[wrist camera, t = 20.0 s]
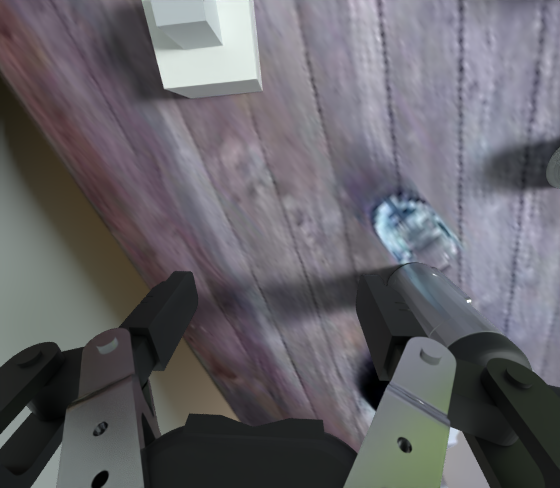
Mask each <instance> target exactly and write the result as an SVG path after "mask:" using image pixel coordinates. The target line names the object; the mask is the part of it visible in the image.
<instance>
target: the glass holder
mask: <svg viewBox="0 0 560 488" xmlns="http://www.w3.org/2000/svg"><path fill="white" fill-rule="evenodd" d="M546 178H547V181H548V183H549V184H550V185H551V186H553V187H555V188H559V189H560V147H559V148H558V149H557V150H556V151H555V153H554V154H553V155H552V157H551V159H550V161H549V163H548V165H547V170H546Z"/></svg>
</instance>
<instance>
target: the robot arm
mask: <svg viewBox="0 0 560 488" xmlns="http://www.w3.org/2000/svg"><path fill="white" fill-rule="evenodd" d="M471 303H472V299H471V298H470V297H469V296H468V295H467V294H466V293H464V292H463V291H462V290H461V289H460V288H459V287H458V286H456V285H455V284H454V283H453V282H452V281H451V280H450V279H448V278H447V277H446V276H445V275H444V274H443V273H442V272H440V271H439V270H438V269H437V268H431V267H429V266H427V265H425V264H422V263H411V264H407V265H404V266H402V267H400V268H399V269H397V270H396V271H395V272H394V273H393V274H392V275H391V277H390V279H389V281H388V286H385V285H384V283H383V281H382V279H381V278H380V276H379V275H361V276H360V280H359V286H358V292H357V298H356V312H357V316H358V319H359V322H360V325H361V327H362V330H363V333H364V336H365V339H366V342H367V345H368V348H369V351H370V354H371V357H372V360H373V363H374V366H375V369H376V372H377V374H378V377H379V380H386V381H390V384H388V386H387V388H386V390H385V393H384V395H383V397H382V400H381V402H380V404H379V406H378V409H377V411H376V413H375V416H374V418H373V420H372V423H371V425H370V427H369V430H368V432H367V434H366V436H365V439H364V441H363V443H362V446H361V448H360V450H359V453H358V454H357V453H356V452H355V451H354V450H353V449H352V448H351V447H350V446H349V445H347V444H346V443H345V442H343V441H342V440H340V439H339V438H337V437H335V436H333V435H331V434H329V433H326V432H324V426H323V420H314V419H293V418H289V419H285V420H281V421H277V422H273V423H269V424H265V425H261V426H256V427H252V426H249V425H246V424H244V423H241V422H238V421H236V420H233V419H230V418H228V417H225V416H222V415H209V414H189V416H188V418H187V421H186V424H185V426H182V427H179V428H176V429H174V430H171V431H169V432H168V433H166V434H164V435H162V436H161V433H160V430H159V426H158V422H157V416H156V411H155V406H154V401H153V396H152V390H151V385H150V381H149V376H150V374H151V372H152V371H164V370H165V368H166V366H167V364H168V362H169V360H170V358H171V357H172V355H173V353H174V351H175V349H176V347H177V345H178V343H179V341H180V340H181V338H182V336H183V334H184V332H185V330H186V328H187V326H188V324H189V323H190V321H191V319H192V317H193V315H194V313H195V311H196V309H197V306H198V295H197V290H196V285H195V281H194V276H193V273H192V272H191V271H174V272H173V273H172V274H171V276H170V277H169V278H168V279H167V280H166V281H163V282H161V283H160V284H158V285H157V286H155V287H154V288H152V290H151V291H150V292H149V293H148V294H147V295H146V297H145V298H144V299H143V300H142V301H141V303H140V304H139V305H138V306H137V307H136V308H135V309H134V310H133V311H132V313H131V314H130V315H129V316H128V317H127V318H126V319H125V321H124V322H123V323H122V324H121V325H120V326H119V328H114V329H110V330H107V331H104V332H102V333H101V334H99V335H97V336H95V337H94V338H93V339H91V340H90V341H89V342H88V343H87V344H86V346H85V347H81V348H76V349H72V350H68V351H63V352H61V350H60V348H59V347H58V345H57V344H56V343H54V342H44V343H39V344H36V345H33V346H31V347H28V348H26V349H24V350H22V351H21V352H19V353H18V354H16V355H15V356H13V357H12V358H11V359H9V360H8V361H7V362H6V363H5V364H4V365H2V366H1V367H0V434H1V433H2V432H3V430H5V429H6V427H7V426H8V425H9V424H10V423H11V421H13V420H14V418H15V417H16V416H17V415H18V414H19V413H20V412H21V411H22V410H23V409H24V407H25V406H27V407H28V408H29V409H30V410H31V411H32V413H31V414H30V415H29V416H28V417H27V419H26V420H25V421H24V422H23V423H22V424H21V425H20V427H19V428H18V429H17V430H16V431H15V432H14V434H13V435H12V436H11V437H10V438H9V439H8V441H7V442H6V443H5V444H4V445H3V446H2V448H1V449H0V488H30V487H31V486H32V485H33V483H34V482H35V480H36V479H37V477H38V476H39V475H40V473H41V471H42V470H43V469H44V467H45V466H46V464H47V463H48V461H49V460H50V458H51V457H52V455H53V454H54V453H55V451H56V450H57V448H58V447H59V445H60V444H61V442H62V447H61V454H60V462H59V470H58V478H57V486H56V488H440V485H441V479H442V473H443V467H444V461H445V455H446V449H447V444H448V438H449V432H450V427H452V428H455V429H458V430H460V431H462V432H463V434H464V436H465V438H466V440H467V442H468V444H469V446H470V448H471V450H472V452H473V454H474V456H475V458H476V460H477V462H478V464H479V466H480V468H481V470H482V472H483V474H484V476H485V478H486V480H487V482H488V484H489V486H490V488H560V387H555V386H551V385H547V384H546V383H545V382H544V381H543V380H542V379H541V378H540V377H539V376H538V375H537V374H536V373H534V372H533V371H532V368H531V366H530V363H529V361H528V359H527V357H526V356H525V354H524V353H523V352H522V351H521V350H520V349H519V348H518V347H517V346H516V345H515V344H514V343H513V342H512V341H510V340H509V339H508V338H507V337H506V336H505V335H504V334H503V333H502V332H500V331H499V330H498V329H497V328H496V327H495V326H494V325H493V324H492V323H491V322H489V321H488V320H487V319H486V318H485V317H484V316H483V315H482V314H481V313H479V312H478V311H477V310H476V309H475V308H474V307H473V306H472V305H471Z"/></svg>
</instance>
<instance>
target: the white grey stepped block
mask: <svg viewBox="0 0 560 488" xmlns="http://www.w3.org/2000/svg"><path fill="white" fill-rule="evenodd" d="M142 4H143V8H144V12H145V16H146V20H147V23H148V27H149V31H150V35H151V39H152V43H153V47H154V51H155V55H156V59H157V63H158V66H159V70H160V74H161V78H162V82H163V86H164V89H166V90H169V91H172V92H175V93H177V94H180V95H183V96H186V97H188V98H191V99H194V98H203V97H213V96H222V95H232V94H242V93H251V92H261V91H263V90H262V81H261V71H260V61H259V51H258V41H257V31H256V21H255V12H254V2H253V0H142Z"/></svg>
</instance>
